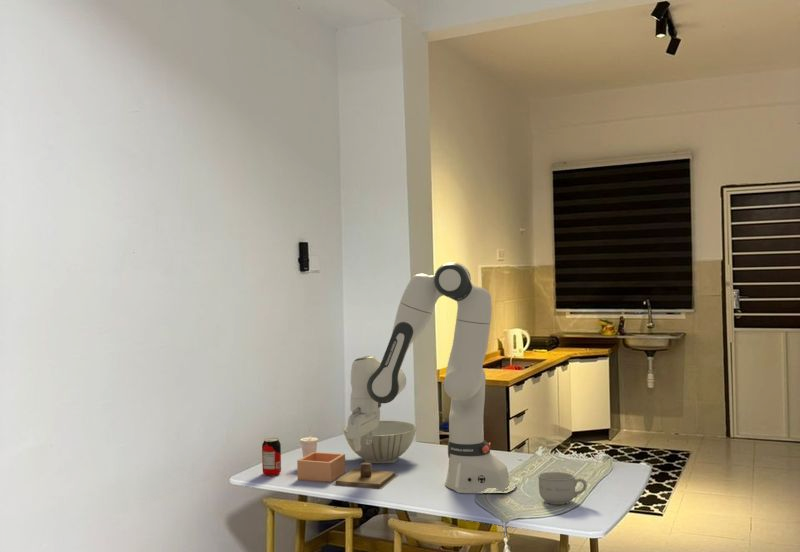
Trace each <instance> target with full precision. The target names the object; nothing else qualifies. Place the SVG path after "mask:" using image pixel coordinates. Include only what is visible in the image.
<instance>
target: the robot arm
mask: <svg viewBox="0 0 800 552" xmlns="http://www.w3.org/2000/svg"><path fill="white" fill-rule="evenodd" d="M471 280H472V279H471V273H470V271H469V270H468V269H467V267H466V266H465V265H463V264H462V263H459V262H455V261H454V262H453V261H451V262H446V263H444V264H441V265H440V266H439V267H438V268H437V270H436V271H435V273H434V274H433V275H429V274H426V273H418V274H415V275H413V276H412V277H411V278H410V280H409V282H408V283H407V285H406V287H405V289H404V290H403V291H404V292H403V293H402V296H401V298H400V302H399V304H398V307H397V310H396V315H395V319H394V323H393V326H392V327H393V328H392V331H391V336H390V339H389V342H388V344H387V347H386V349H385V352H384V354H383V357H382V360H379V359H378V358H377V357H376V356H373V355H367V356H366V355H365V356H361V357H357V358H356V359H354V360H353V361H352V364H351V370H350V386H351V393H350V407H349V408H350V412H351V414H350V415H349V416H348V419H347V426H348V427H347V437H348V439H353V442H354V445H355V451H360V450H361V445H360V440H361V437H363V436H364V435H366V434H367V437H366V444H368V445H370V444H371V443H372V437H373V433H374V430H375V429H377V428H378V426H379V423H380V419H381V407H382V404H388V403H391V402H393V400H395V398H396V397H397V396H398V395H399V394H400V393H402V391H404V389H405V387H406V386H407V385H406V384H407V378H406V375H405V373H404V372H403V370H402V369H401V368H402V365H403V362H404V361H405V357H406V355H407V353H408V350H409V348H410V346H411V345H412V344H413V343H414V341H415V340H416V339H417V338H418V337H419V336H420V335H421V334H422V333H424V331H425V330H426V327H427V325H428V324H429V321H430V320H431V318H432V314H433V312H434V308H435V306H436V303H437V302H438V301H439V298H441V297H443V296H445V297H447V298H448V299H451V300H454V301H455V302H456V303H457V311H456V318H455V324H454V325H455V326H454V334H453V340H452V346H451V350H450V353H449V357H448V362H447V366H446V370H445V377H444V381H443V390H444V392H445V393H446V395H447V396H448V397H449V398H450V399H451V400H450V407H449V408H450V409H449V415H448V431H449V433H448V435H449V436H448V438H449V440H447V455H448V468H447V469H448V470H447V475H446V479H445V482H444V486H445V487H447V488H448V489H451V490H454V491H455V492H456V493H458V494H479V493H478V492H481V491H484V490H485V489H487V488H496V489H498V490H496V491H502V492H504V491H507V490H508V489H505V488H507V487H508V486H509V483H510V481H509V479H510V475H509V470H508V468H507V466H506V464H505V463H504V462H503V461H501V460H500V459H498V458H497V457H496V456H495V455H494V454H492V453H491V442H490V441H489V443H488V442H487V441H486V440H484V439H485V437H484V436H485V435H484V432H485V431H484V412H485V410H484V409H485V399H486V379H487V378H486V376H487V375H486V372H485V369H484V368H483V366H484V362H485V359H486V358H485V357H486V353H487V349H488V345H489V335H490V330H491V321H492V295H491V292H489V291H488V290H487V289H485V288H484V287H481V286H476V285H474V284H473V283H472V281H471ZM512 486H513V485H512ZM512 486H511V487H512ZM511 487H510V488H511ZM513 487H514V486H513ZM513 487H512V488H513Z"/></svg>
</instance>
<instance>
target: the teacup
mask: <svg viewBox="0 0 800 552" xmlns="http://www.w3.org/2000/svg"><path fill="white" fill-rule="evenodd" d="M537 475H538V476H537V477H538V491H539V493H538V494H539V496H540V497H541V498H542V499H543V500H544V501H545V502H546V503H547V504H550V505H557V504H562V505H566V504H565V503H567V504H569V503H570V502H571V501H572V500H574V499H576V498H577V497H578V496H579V495H581V494H583V493H584V492H585V491H586V490H587V487H588V484H587V480H585V478H582V477H577V478H576V475H575V474H572V473H570V472H569V473H568V472H563V471H561V472H560V471H547V472H541V473H539V474H537ZM578 482H581V483H582V485H583V486H582V488H581V489H580V490H578V491H576V487H577V484H578ZM568 502H569V503H568Z"/></svg>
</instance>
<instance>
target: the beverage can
mask: <svg viewBox="0 0 800 552" xmlns="http://www.w3.org/2000/svg"><path fill="white" fill-rule="evenodd" d="M279 440H280V439H279V438H278V437H266V438H264V439H263V442H262V445H261V453H262V455H261V457H262V462H261V463H262V466H261V467H262V473H263V474H264V475H265V476H267V477H274V476H278V475H279V474H280V473H281V472H282V457H281V456H282V451H281V449H282V448H281V447H282V446H281V445H282V444H281V442H280V441H279Z"/></svg>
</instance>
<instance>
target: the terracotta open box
mask: <svg viewBox="0 0 800 552" xmlns="http://www.w3.org/2000/svg"><path fill="white" fill-rule="evenodd" d="M296 466H297V481H305V482H317V483H330V484H331V483H333V482H334V481H336V480H338V479H339V478H341V477H342V476H344V475H345V474H346V454H345V453H334V452H332V453H331V452H320V451H319V452H318V451H316V452H312V453H311V454H309V455H307V456H305V457H303V456H302V457H301V458H300V459H298V460H297V465H296Z"/></svg>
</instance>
